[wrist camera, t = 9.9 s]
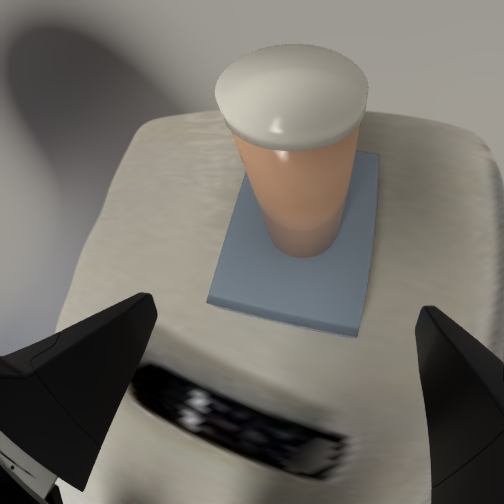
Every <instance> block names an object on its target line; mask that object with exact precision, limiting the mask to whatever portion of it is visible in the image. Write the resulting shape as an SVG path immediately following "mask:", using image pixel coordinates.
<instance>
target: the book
mask: <svg viewBox="0 0 504 504" xmlns="http://www.w3.org/2000/svg"><path fill="white" fill-rule="evenodd" d="M378 179H379V155H376V154H371V153H365V152H360V151H356V153H355V158H354V163H353V168H352V173H351V178H350V183H349V188H348V193H347V197H346V202H345V206H344V210H343V215H342V219H341V223H340V227H339V231H338V235H337V237H336V239H335V241H334V243H333V244H332V245H331V246H330V247H329V248H328V249H327V250H326V251H325V252H323V253H321V254H319V255H317V256H314V257H309V258H298V257H293V256H290V255H287V254H285V253H284V252H282V251H281V250H279V249H278V248H277V247H276V246H275V245H274V243H273V242H272V240H271V238H270V236H269V234H268V231H267V228H266V225H265V222H264V219H263V217H262V214H261V211H260V208H259V205H258V203H257V200H256V197H255V194H254V192H253V189H252V186H251V183H250V181H249V178H248V175H247V172H246V173H245V176H244V179H243V182H242V186H241V189H240V192H239V195H238V198H237V201H236V205H235V208H234V211H233V214H232V217H231V221H230V224H229V227H228V230H227V234H226V237H225V240H224V244H223V247H222V250H221V254H220V257H219V260H218V264H217V267H216V270H215V274H214V277H213V281H212V284H211V288H210V291H209V295H208V298H207V302H206V303H208V304H211V305H213V306H215V307H218V308H222V309H225V310H229V311H233V312H237V313H241V314H245V315H248V316H252V317H257V318H261V319H265V320H269V321H273V322H277V323H282V324H286V325H291V326H295V327H300V328H304V329H309V330H314V331H318V332H323V333H328V334H333V335H338V336H343V337H349V338H356V337H357V336H358V331H359V327H360V322H361V317H362V312H363V306H364V301H365V296H366V290H367V284H368V277H369V271H370V264H371V257H372V249H373V240H374V231H375V221H376V210H377V196H378Z"/></svg>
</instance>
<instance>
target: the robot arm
mask: <svg viewBox="0 0 504 504" xmlns="http://www.w3.org/2000/svg"><path fill="white" fill-rule="evenodd" d="M157 315H158V314H157V309H156V306H155V303H154V300H153V297H152V295H151V294H150V293H143V292H140V293H138V294H136V295H134V296H132V297H129V298H127V299H125V300H123V301H121V302H119V303H117V304H115V305H113V306H111V307H109V308H107V309H105V310H103V311H101V312H99V313H96V314H94V315H92V316H90V317H88V318H86V319H84V320H82V321H80V322H78V323H76V324H74V325H72V326H70V327H68V328H66V329H64V330H62V331H60V332H58V333H56V334H54V335H52V336H50V337H48V338H46V339H43V340H41V341H39V342H37V343H34V344H32V345H30V346H27V347H25V348H23V349H20V350H18V351H15V352H13V353H11V354H8V355H5V356H0V504H63V501H62V498H61V494H60V490H59V487H58V486H57V485H56V484H55V482H56V480H57V478H58V477H59V478H60V479H62V480H63V481H65V482H67V483H68V484H70V485H71V486H73V487H75V488H76V489H78V490H80V491H81V492H83V491H84V489H85V487H86V484H87V482H88V479H89V476H90V474H91V471H92V469H93V466H94V464H95V461H96V459H97V456H98V454H99V451H100V449H101V446H102V444H103V442H104V439H105V437H106V434H107V432H108V430H109V428H110V425H111V423H112V421H113V418H114V416H115V414H116V412H117V409H118V407H119V405H120V403H121V401H122V398H123V396H124V394H125V392H126V390H127V388H128V386H129V383H130V381H131V379H132V377H133V375H134V373H135V371H136V369H137V367H138V365H139V362H140V360H141V358H142V356H143V354H144V352H145V349H146V347H147V344H148V341H149V338H150V336H151V333H152V330H153V328H154V325H155V322H156V320H157ZM415 336H416V345H417V354H418V364H419V374H420V380H421V385H422V391H423V397H424V403H425V410H426V418H427V426H428V435H429V445H430V459H431V482H432V489H431V504H504V363H503V362H502V361H501V360H500V359H499V358H498V357H497V356H495V355H494V354H493V353H492V352H491V351H490V350H488V349H487V348H486V347H485V346H484V345H483V344H481V343H480V342H479V341H478V340H477V339H475V338H474V337H473V336H472V335H471V334H469V333H468V332H467V331H466V330H464V329H463V328H462V327H461V326H460V325H458V324H457V323H456V322H455V321H453V320H452V319H451V318H449V317H448V316H447V315H446V314H444V313H443V312H442V311H441V310H439V309H438V308H437V307H435V306H423V307H422V309H421V311H420V314H419V317H418V320H417V323H416V327H415Z"/></svg>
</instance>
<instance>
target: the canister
mask: <svg viewBox="0 0 504 504" xmlns="http://www.w3.org/2000/svg"><path fill="white" fill-rule="evenodd" d="M367 95H368V82H367V79H366V77H365V75H364V73H363V72H362V70H361V69H360V68H359V67H358V66H357V65H356V64H355V63H354V62H353V61H351V60H350V59H348V58H347V57H345V56H343V55H342V54H340V53H337V52H335V51H332V50H330V49H327V48H323V47H319V46H313V45H304V44H284V45H276V46H271V47H266V48H262V49H259V50H257V51H254V52H251V53H249V54H247V55H244V56H243V57H241V58H239V59H238V60H236V61H235V62H233V63H232V64H231V65H230V66H228V67H227V68H226V69H225V71H224V72H223V73H222V74H221V76H220V77H219V79H218V82H217V84H216V88H215V97H216V101H217V103H218V106H219V108H220V111H221V113H222V116H223V118H224V121H225V123H226V125H227V126H228V128H229V129H230V130H231V132H232V135H233V137H234V140H235V143H236V145H237V148H238V151H239V153H240V156H241V159H242V161H243V164H244V167H245V170H246V172H247V175H248V178H249V181H250V183H251V186H252V189H253V192H254V194H255V197H256V200H257V203H258V205H259V208H260V211H261V214H262V217H263V219H264V222H265V225H266V228H267V231H268V234H269V236H270V238H271V240H272V242H273V243H274V245H275V246H276V247H277V248H278V249H279V250H281V251H282V252H284V253H285V254H287V255H290V256H293V257H298V258H309V257H314V256H317V255H319V254H321V253H323V252H325V251H326V250H327V249H328V248H329V247H330V246H331V245H332V244H333V243H334V241H335V239H336V237H337V235H338V231H339V227H340V223H341V219H342V215H343V210H344V206H345V202H346V197H347V193H348V188H349V183H350V178H351V173H352V168H353V163H354V158H355V153H356V147H357V142H358V136H359V130H360V124H361V121H362V120H363V117H364V114H365V108H366V102H367Z"/></svg>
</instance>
